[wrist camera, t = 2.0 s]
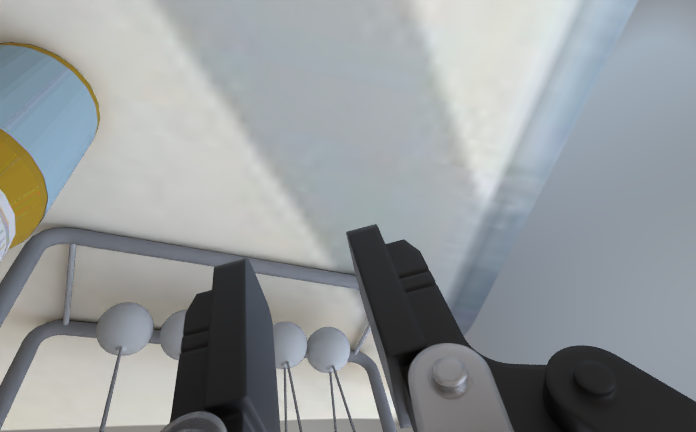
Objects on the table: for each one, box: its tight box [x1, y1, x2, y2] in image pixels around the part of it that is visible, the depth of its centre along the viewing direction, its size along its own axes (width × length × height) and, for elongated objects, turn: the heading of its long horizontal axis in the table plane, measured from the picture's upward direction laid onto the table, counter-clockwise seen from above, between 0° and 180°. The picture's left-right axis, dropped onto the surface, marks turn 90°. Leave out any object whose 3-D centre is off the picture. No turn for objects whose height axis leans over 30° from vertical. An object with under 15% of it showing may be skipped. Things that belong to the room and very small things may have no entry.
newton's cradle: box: [0, 227, 397, 432], centre depth 32 cm, size 30×10×18 cm, turn 69°
